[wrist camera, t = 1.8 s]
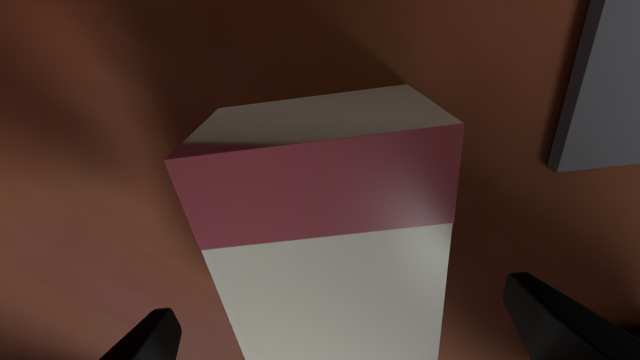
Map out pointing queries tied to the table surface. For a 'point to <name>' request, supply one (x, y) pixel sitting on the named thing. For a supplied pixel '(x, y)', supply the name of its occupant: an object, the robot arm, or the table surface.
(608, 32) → the mat
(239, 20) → the table surface
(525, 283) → the robot arm
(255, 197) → the card box
